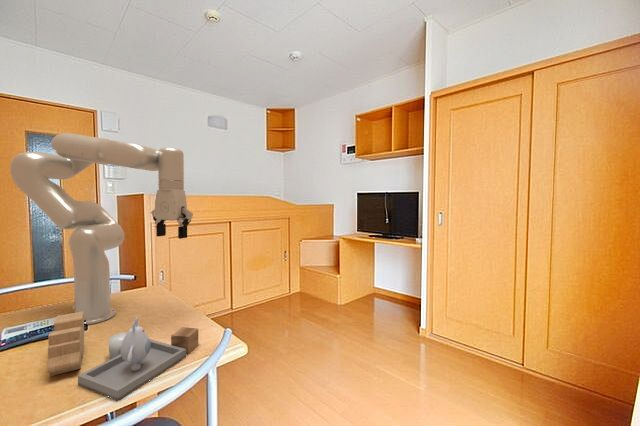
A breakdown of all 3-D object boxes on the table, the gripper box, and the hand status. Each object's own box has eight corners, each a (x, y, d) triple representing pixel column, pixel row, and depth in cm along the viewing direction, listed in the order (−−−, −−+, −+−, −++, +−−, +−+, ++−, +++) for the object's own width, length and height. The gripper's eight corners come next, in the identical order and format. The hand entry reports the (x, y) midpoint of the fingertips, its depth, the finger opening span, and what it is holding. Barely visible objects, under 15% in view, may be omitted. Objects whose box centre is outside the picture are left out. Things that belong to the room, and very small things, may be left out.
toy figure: (144, 378, 68) (143, 327, 67) (113, 382, 66) (112, 330, 65) (155, 353, 78) (155, 309, 77) (128, 357, 76) (128, 311, 75)
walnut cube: (171, 353, 80) (171, 335, 79) (182, 344, 84) (181, 327, 84) (188, 354, 79) (188, 336, 79) (198, 345, 84) (198, 328, 84)
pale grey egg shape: (104, 357, 77) (104, 339, 76) (123, 348, 81) (123, 331, 81) (117, 362, 75) (117, 343, 74) (136, 352, 79) (135, 334, 79)
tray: (78, 385, 66) (77, 375, 65) (150, 346, 82) (150, 339, 82) (117, 401, 61) (117, 390, 61) (186, 357, 78) (186, 349, 77)
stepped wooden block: (47, 383, 66) (46, 340, 65) (58, 350, 80) (57, 314, 79) (79, 375, 69) (78, 334, 68) (84, 344, 83) (83, 310, 82)
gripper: (142, 185, 97) (143, 236, 98) (182, 186, 91) (182, 240, 92) (162, 186, 104) (162, 234, 105) (200, 186, 98) (200, 237, 99)
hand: (171, 237), depth 99 cm, fingers open, 9 cm apart
